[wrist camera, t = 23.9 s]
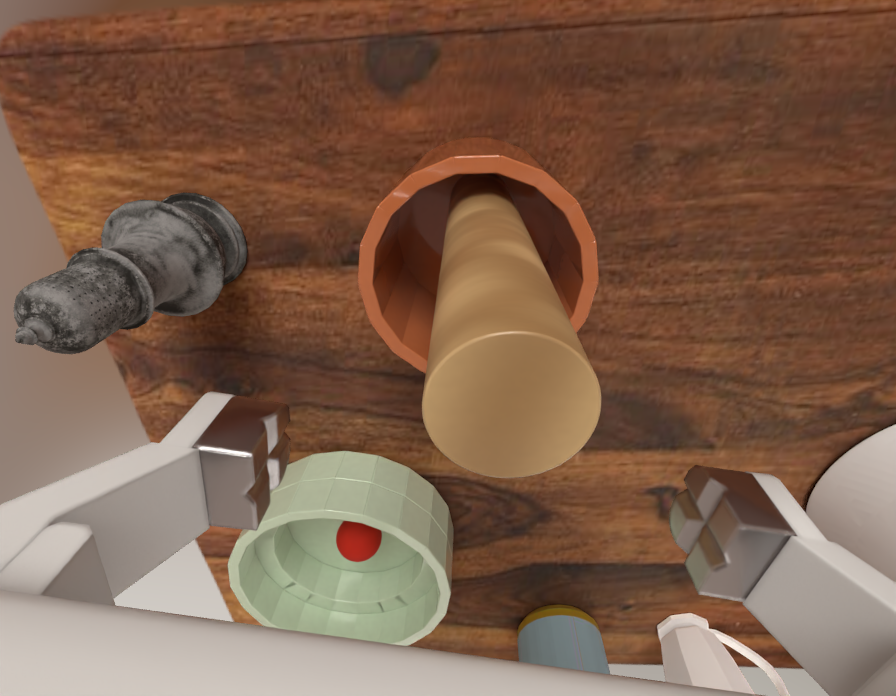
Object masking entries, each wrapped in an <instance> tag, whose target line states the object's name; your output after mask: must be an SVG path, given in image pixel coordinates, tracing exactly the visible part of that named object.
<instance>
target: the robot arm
mask: <svg viewBox="0 0 896 696" xmlns="http://www.w3.org/2000/svg"><path fill="white" fill-rule="evenodd" d="M289 422H290V413H289V407H288V405H287V404H285V403H279V402H273V401H267V400H261V399H256V398H250V397H244V396H238V395H237V396H235V395H231V394H224V393H218V392H209V393H206V394H204V395H203V396H202V397H201V398H200V400H199V401H198V402H197V403H196V404H195V405H194V406H193V407H192V408H191V409H190V411H189V412H188V413H187V414H186V415H185V416H184V417H183V418H182V419H181V420H180V421H179V423H178V424H177V425H176V426H175V427H174V428H173V429H172V430H171V431H170V432H169V433H168V435H167V436H166V437H165V438H164V439H163V440H162V441H161V442H160V443H153V442H150V443H148V444H146V445H144V446H141V447H138V448H136V449H134V450H131V451H129V452H126V453H124V454H121V455H119V456H117V457H114V458H112V459H109V460H107V461H105V462H102V463H100V464H97V465H95V466H92V467H90V468H88V469H85V470H83V471H80V472H78V473H76V474H73V475H71V476H68V477H66V478H63V479H61V480H59V481H56V482H54V483H51V484H49V485H47V486H44V487H42V488H39V489H37V490H34V491H32V492H30V493H27V494H25V495H22V496H20V497H18V498H15V499H13V500H10V501H8V502H5V503H3V504H0V696H763V695H756V694H749V693H742V692H735V691H727V690H720V689H713V688H706V687H698V686H691V685H684V684H676V683H669V682H662V681H655V680H647V679H640V678H633V677H625V676H618V675H611V674H604V673H596V672H589V671H582V670H575V669H568V668H560V667H553V666H546V665H539V664H532V663H525V662H517V661H510V660H503V659H496V658H489V657H482V656H474V655H467V654H460V653H453V652H446V651H439V650H431V649H424V648H417V647H410V646H403V645H396V644H388V643H381V642H374V641H367V640H360V639H352V638H345V637H338V636H331V635H324V634H316V633H309V632H302V631H295V630H287V629H280V628H273V627H266V626H259V625H251V624H244V623H237V622H230V621H223V620H215V619H207V618H201V617H193V616H186V615H179V614H172V613H165V612H158V611H150V610H143V609H136V608H128V607H122V606H116V605H115V602H114V599H113V598H115V597H116V596H118V595H119V594H120V593H122V592H123V591H124V590H126V589H127V588H128V587H130V586H131V585H132V584H134V583H135V582H137V581H138V580H139V579H141V578H142V577H143V576H145V575H146V574H147V573H149V572H150V571H152V570H153V569H154V568H156V567H157V566H158V565H160V564H161V563H163V562H164V561H165V560H167V559H168V558H169V557H171V556H172V555H174V553H176V552H178V551H179V550H180V549H182V548H183V547H184V546H186V545H187V544H189V543H190V542H191V541H192V540H194V539H195V538H197V537H198V536H199V535H201V534H202V533H204V532H205V531H206V530H208V529H209V525H210V526H218V527H227V528H236V529H245V530H253V531H257V529H258V527H259V525H260V523H261V521H262V519H263V517H264V515H265V513H266V511H267V509H268V507H269V505H270V503H271V500H270V491H271V490H273V489H274V488H276V487H278V486H279V485H280V483H281V481H282V479H283V477H284V475H285V472H286V468H287V465H288V462H289V456H290V438H289V437H288V435H287V434H286V433H285V432H284V431H285V429H286V427H287V426H288V424H289ZM684 481H685V484H686V487H687V489H686V490H684V491H683V492H681V493H679V494H678V495H676V496H675V498H674V500H673V502H672V505H671V507H670V514H669V524H670V530H671V533H672V536H673V538H674V540H675V543H676V544H677V545H678V546H679V547H681V548H682V549H683V550H684V551H685V552H686V553H687V557H686V560H685V562H684V563H685V565H686V568H687V570H688V572H689V574H690V576H691V579H692V581H693V583H694V585H695V588H696V590H697V592H698V594H701V595H707V596H712V597H718V598H724V599H730V600H736V601H742V602H744V603H743V605H744V606H745V607H746V608H747V609H748V610H749V611H750V612H751V613H752V614H753V615H754V616H755V618H756V619H757V620H758V621H759V622H760V623H761V624H762V625H763V626H764V627H765V628H766V629H767V630H768V631H769V632H770V633H771V634H772V635H773V637H774V638H775V639H776V640H777V641H778V642H779V643H780V644H781V645H782V646H783V647H784V648H785V649H786V650H787V651H788V652H789V653H790V654H791V656H792V657H793V658H794V659H795V660H796V661H797V662H798V663H799V664H800V665H801V666H802V667H803V668H804V669H805V670H806V671H807V672H808V673H809V674H810V676H811V677H813V679H814V680H815V681H816V682H817V683H818V684H819V685H820V686H821V687H822V688H823V689H824V690H825V691H826V692H827V693H828V695H829V696H896V424H895V425H893V426H891V427H888V428H886V429H884V430H882V431H880V432H878V433H876V434H874V435H872V436H871V437H869V438H867V439H865V440H864V441H862V442H861V443H859V444H858V445H856V446H855V447H853V448H852V449H850V450H849V451H848V452H846V453H845V454H844V455H843V456H842V457H840V458H839V459H838V460H837V461H836V462H835V463H834V464H833V465H832V466H831V467H830V468H829V469H828V470H827V471H826V472H825V473H824V475H823V476H822V477H821V479H820V480H819V481H818V483H817V484H816V486H815V488H814V489H813V491H812V493H811V495H810V498H809V500H808V503H807V508H806V513H805V511H804V510H803V509H802V508H801V506H800V505H799V504H798V503H797V501H796V500H795V499H794V498H793V496H792V495H791V494H790V493H789V491H788V490H787V489H786V488H785V486H784V485H783V484H782V482H781V481H780V480H779V479H777V478H776V477H774V476H773V475H770V474H762V473H754V472H740V471H733V470H726V469H719V468H713V467H706V466H699V465H695V466H694V467H692V468H691V469H690V470H689V471H688V473H687V475H686V477H685V479H684Z"/></svg>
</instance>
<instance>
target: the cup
mask: <svg viewBox="0 0 896 696" xmlns="http://www.w3.org/2000/svg"><path fill="white" fill-rule="evenodd" d="M657 630H658V637H659V640H660V641H661V648H662V658H663V667H664V673H665V680H666V682H669V683H676V684H684V685H691V686H698V687H706V688H713V689H720V690H727V691H735V692H742V693H749V694H755V693H754V692H753V690H752V689H751V687H750V685H749V684H748V682H747V681H746V679H745V677H744V676H743V674H742V672H741V671H740V669H739V667H738V666H737V664H736V663H735V661H734V659H733V658H732V656H731V655H730V654H729V652H728V651H727V650H726V649H725V647H724V646H723V645H722V643H724V644H726V645H728V646H730V647H731V648H733V649H734V650H736V651H737V652H739V653H741V654H742V655H744V656H745V657H747V658H748V659H750V660H751V661H752V662H754V663H755V664H756V665H757V666H759V667H760V668H761V669H762V670H764V671H765V672H766V674H767V675H768V676H769V677H770V679H771V680H772V681H773V683H774V684H775V685H776V688H777V690H778V692H779V695H780V696H790V695H789V693H788V691H787V688H786V686H785V684H784V682H783V680H782V679H781V677H780V676H779V674H778V673H777V672H776V671H775V669H774V668H773V667H772V665H770V664H769V663H768V662H767V661H766V660H764V659H763V658H762V657H761V656H760V655H758V654H757V653H755V652H754V651H752V650H751V649H749V648H748V647H746V646H745V645H743V644H741V643H740V642H738V641H737V640H735V639H733V638H732V637H730V636H728V635H726V634H724V633H722V632H719V631H717V630H715V629H709V627H708V622H707V620H706V619H704V618H702V617H700V616H697V615H695V614H692V613H686V614H678V615H671V616H669V617H668V618H666V619H665V620H664V621H662V622H661V623H660V624H658V625H657ZM721 642H722V643H721Z"/></svg>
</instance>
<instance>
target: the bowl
mask: <svg viewBox="0 0 896 696" xmlns="http://www.w3.org/2000/svg"><path fill="white" fill-rule="evenodd" d="M270 500H271V503H270V505H269V507H268V509H267V511H266V513H265V515H264V517H263V519H262V521H261V523H260V525H259V527H258V529H257V531H253V530H245V529H243V530H242V532H241V534H240V536H239V538H238V540H237V542H236V544H235V546H234V549H233V551H232V554H231V556H230V558H229V561H228V572H229V580H230V586H231V589H232V590H233V592H234V594H235V595H236V597H237V599H238V600H239V602H240V604H241V605H242V607H243V608H244V609H245V610H246V611H247V612H248V613H250V614H251V615H252V616H253V617H254V618H255V619H256V620H257V621H258V622H260V623H261V624H262V625H263V626H266V627H273V628H280V629H287V630H295V631H302V632H309V633H316V634H324V635H331V636H338V637H345V638H352V639H360V640H367V641H374V642H381V643H388V644H396V645H403V646H408V645H410V644H412V643H414V642H416V641H417V640H419V639H421V638H423V637H424V636H426V635H428V634H429V633H431V632H432V631H433V629H434V628H435V627H436V626H437V625H438V623H439V622H440V621H441V620H442V619H443V617H444V616H445V615H446V612H447V608H448V604H449V600H450V595H451V580H452V556H453V531H454V530H453V525H452V520H451V516H450V512H449V508H448V506H447V504H446V503H445V501H444V500H443V499H442V497H441V496H440V494H439V493H438V492H437V490H436V489H435V487H434V486H433V485H432V484H430V483H429V482H428V481H426V480H425V479H424V478H422V477H421V476H420V475H418V474H417V473H416V472H414V471H413V470H412V469H410V468H409V467H406V466H404V465H401V464H399V463H396V462H394V461H391V460H389V459H386V458H384V457H381V456H378V455H372V454H365V453H358V452H351V451H337V452H328V453H318V454H313V455H310V456H308V457H305V458H303V459H300V460H298V461H295V462H293V463H291V464H288V465H287V468H286V472H285V475H284V477H283V479H282V481H281V483H280V485H279V486H278V487H276V488H274V489H273V490H271V491H270ZM343 521H351V522H358V523H363V524H366V525H368V526H371V527H374V528H376V529H379V530H381V532H382V540H381V545H380V547H379V549H378V551H377V552H376V553H375V554H374V555H373V556H372V557H371V558H370V559H368V560H366V561H362V562H353V561H349V560H347V559H346V558H344V557H343V556H342V555H341V553H340V552H339V550H338V548H337V544H336V535H337V531H338V529H339V527H340V525H341V524H342V522H343Z"/></svg>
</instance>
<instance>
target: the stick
mask: <svg viewBox="0 0 896 696" xmlns="http://www.w3.org/2000/svg"><path fill="white" fill-rule="evenodd" d="M600 410H601V391H600V386H599V382H598V379H597V377H596V375H595V373H594V370H593V368H592V366H591V364H590V362H589V360H588V358H587V356H586V354H585V351H584V349H583V347H582V345H581V343H580V341H579V339H578V337H577V335H576V332H575V330H574V328H573V326H572V324H571V322H570V320H569V318H568V316H567V313H566V311H565V309H564V307H563V305H562V303H561V301H560V299H559V296H558V294H557V292H556V290H555V288H554V286H553V284H552V282H551V280H550V277H549V275H548V273H547V271H546V269H545V267H544V265H543V263H542V261H541V258H540V256H539V254H538V252H537V250H536V248H535V246H534V244H533V241H532V239H531V237H530V235H529V233H528V231H527V229H526V227H525V225H524V222H523V220H522V218H521V216H520V214H519V212H518V210H517V208H516V206H515V203H514V201H513V199H512V197H511V195H510V193H509V191H508V189H507V187H506V185H505V183H504V182H503V181H502V179H501V178H500V177H498V176H497V175H495V174H494V173H492V174H466V175H464V176H463V177H461V178H460V179H459V180H458V181H457V183H456V184H455V186H454V187H453V190H452V192H451V196H450V203H449V211H448V218H447V225H446V232H445V239H444V246H443V254H442V261H441V268H440V275H439V282H438V290H437V297H436V304H435V311H434V318H433V326H432V333H431V340H430V347H429V354H428V362H427V369H426V376H425V383H424V390H423V398H422V415H423V421H424V424H425V427H426V430H427V432H428V434H429V436H430V438H431V440H432V441H433V442H434V444H435V445H436V447H437V448H438V449H439V450H440V451H441V452H442V453H443V454H444V455H445V456H446V457H447V458H448V459H450V460H451V461H452V462H454V463H456V464H457V465H459V466H460V467H463V468H465V469H467V470H469V471H472V472H474V473H477V474H481V475H485V476H489V477H497V478H520V477H527V476H532V475H536V474H540V473H543V472H545V471H548V470H551V469H553V468H555V467H557V466H559V465H561V464H562V463H564V462H565V461H567V460H569V459H570V458H571V457H572V456H574V455H575V454H576V453H577V452H578V451H579V450H580V449H581V448H582V447H583V446H584V445H585V444H586V442H587V441H588V440H589V438H590V437H591V435H592V433H593V431H594V429H595V427H596V425H597V422H598V419H599V415H600Z"/></svg>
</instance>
